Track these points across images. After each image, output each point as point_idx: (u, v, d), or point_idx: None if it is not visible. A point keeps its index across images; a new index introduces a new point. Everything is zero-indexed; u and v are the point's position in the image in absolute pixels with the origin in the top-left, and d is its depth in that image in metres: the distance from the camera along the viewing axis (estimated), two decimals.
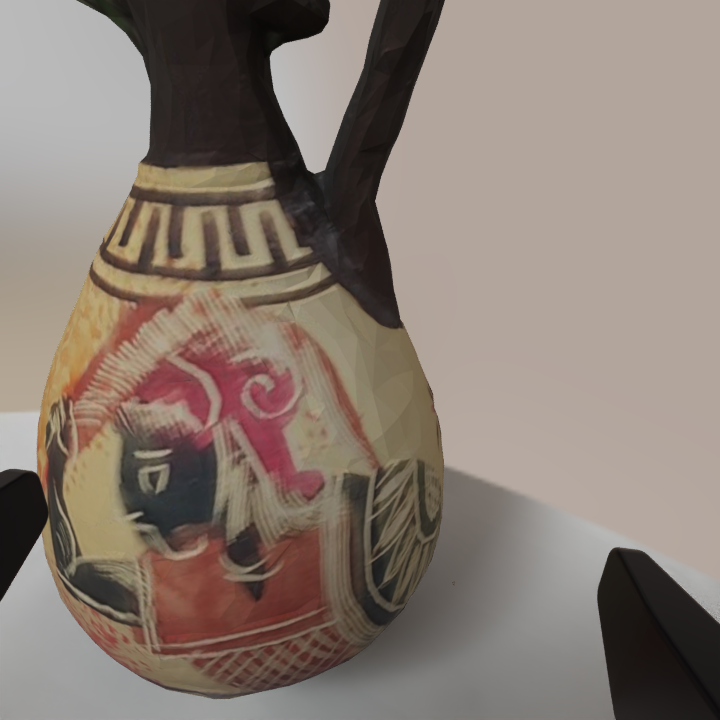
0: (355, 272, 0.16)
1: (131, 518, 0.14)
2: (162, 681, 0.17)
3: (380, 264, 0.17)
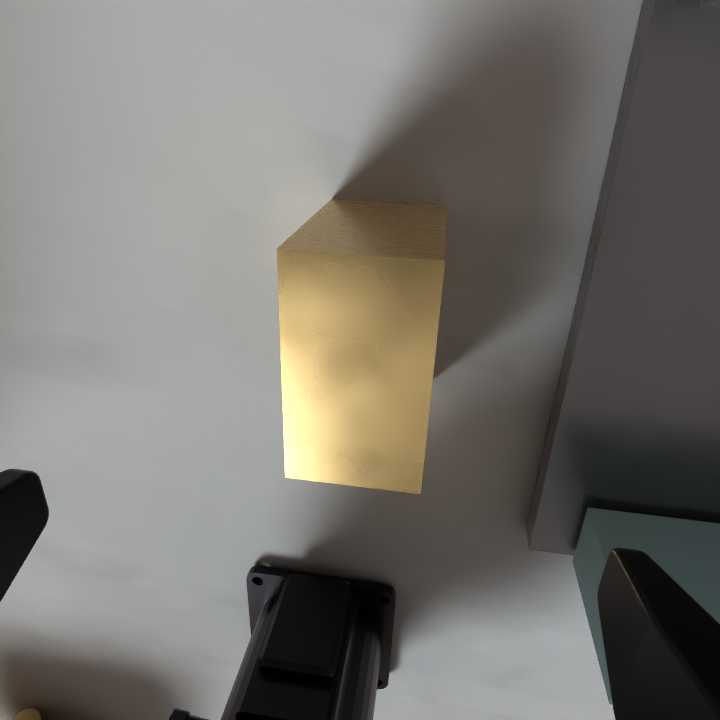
0: None
1: None
2: None
3: None
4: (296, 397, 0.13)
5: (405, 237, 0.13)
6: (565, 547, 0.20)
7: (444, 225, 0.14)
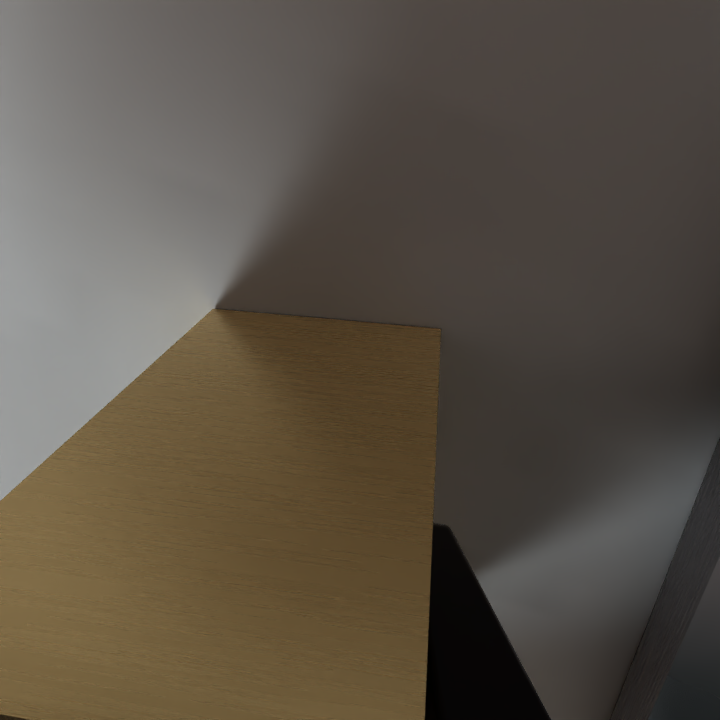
0: None
1: None
2: None
3: None
4: None
5: (314, 525, 0.04)
6: None
7: (431, 430, 0.06)
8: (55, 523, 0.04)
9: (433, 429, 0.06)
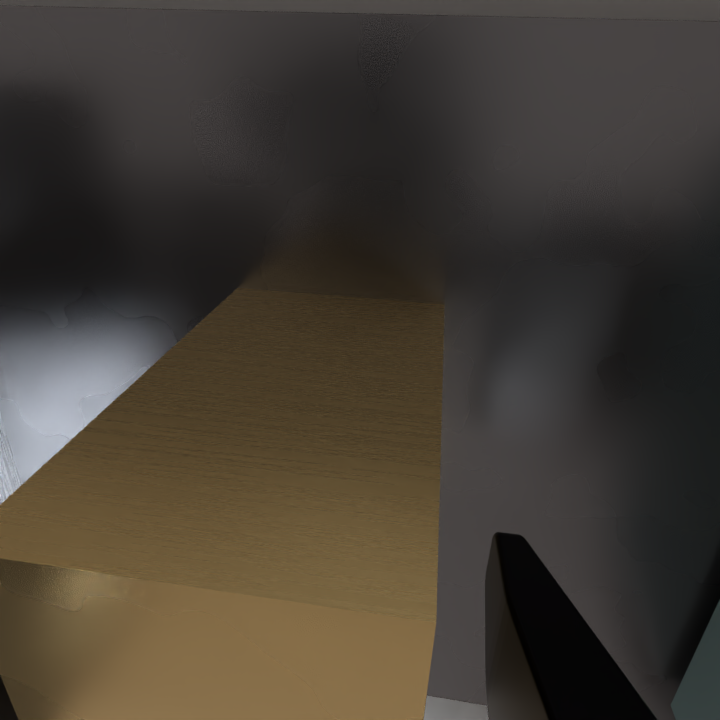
0: None
1: None
2: None
3: None
4: None
5: (341, 452, 0.05)
6: None
7: (438, 383, 0.06)
8: (126, 450, 0.05)
9: (439, 383, 0.06)
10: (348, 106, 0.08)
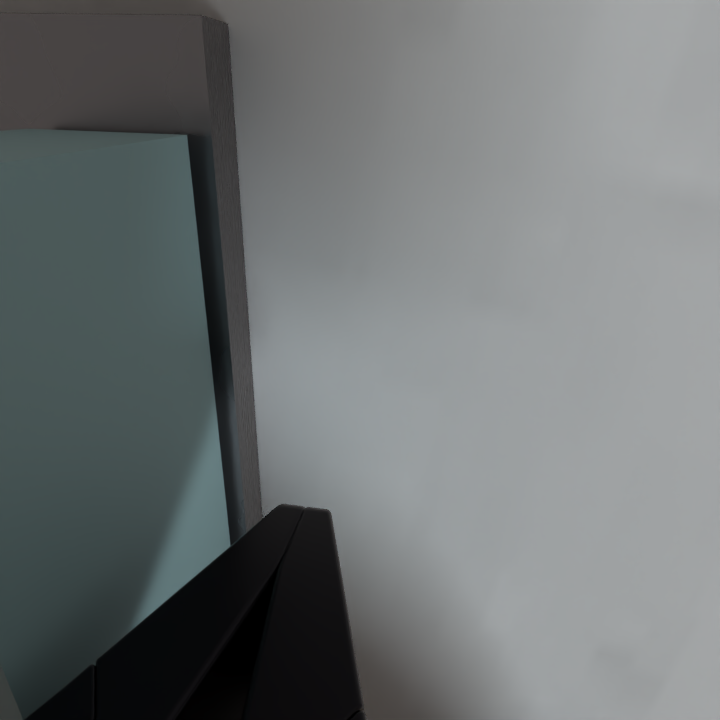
0: None
1: None
2: None
3: None
4: None
5: None
6: None
7: None
8: None
9: None
10: None
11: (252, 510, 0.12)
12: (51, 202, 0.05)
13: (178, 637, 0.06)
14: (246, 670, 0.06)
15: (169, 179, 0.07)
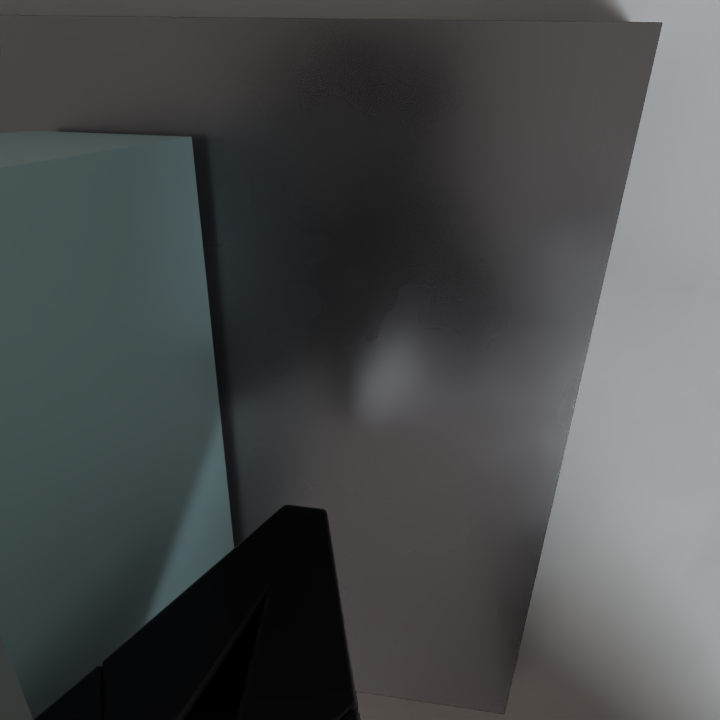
0: None
1: None
2: None
3: None
4: None
5: None
6: (498, 678, 0.12)
7: None
8: None
9: None
10: None
11: None
12: (61, 205, 0.05)
13: (184, 638, 0.06)
14: None
15: (174, 181, 0.07)
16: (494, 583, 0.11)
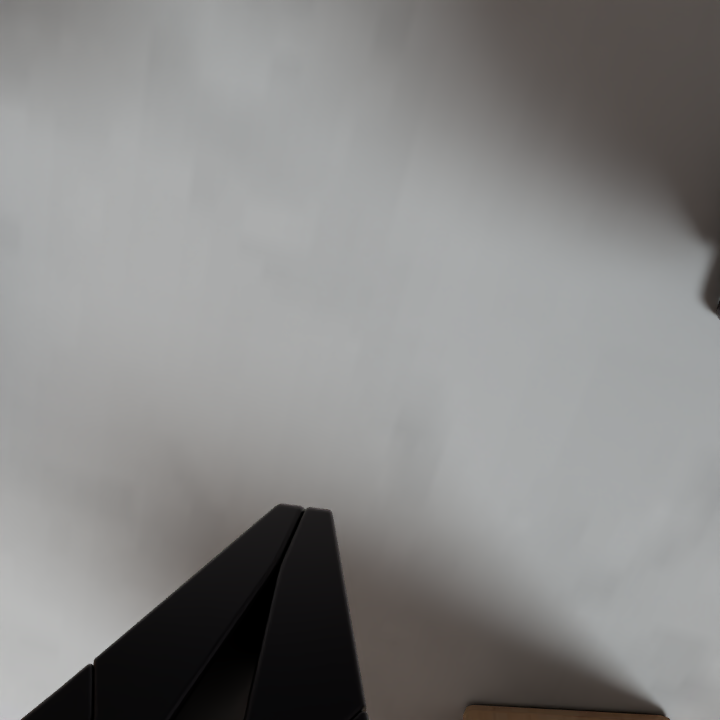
0: None
1: None
2: None
3: None
4: None
5: None
6: None
7: None
8: None
9: None
10: None
11: None
12: None
13: (175, 637, 0.06)
14: (244, 670, 0.06)
15: None
16: None
